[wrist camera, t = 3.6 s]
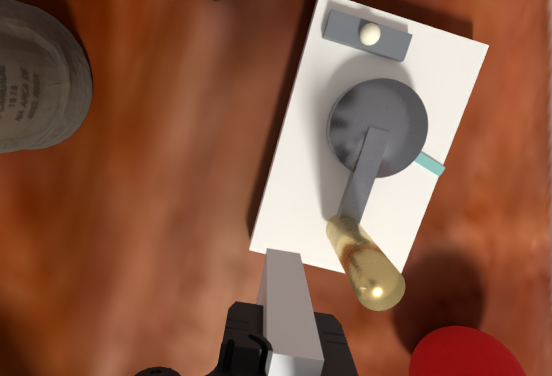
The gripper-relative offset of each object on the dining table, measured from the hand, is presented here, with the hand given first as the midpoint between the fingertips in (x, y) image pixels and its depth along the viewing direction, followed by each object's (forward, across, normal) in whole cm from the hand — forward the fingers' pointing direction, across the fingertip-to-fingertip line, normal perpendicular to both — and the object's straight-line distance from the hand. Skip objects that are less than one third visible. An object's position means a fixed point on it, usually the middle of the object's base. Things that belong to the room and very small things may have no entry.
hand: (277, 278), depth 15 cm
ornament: (+15, +19, -12) cm, 27 cm away
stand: (+15, +6, +5) cm, 17 cm away
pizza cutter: (+12, +6, +4) cm, 14 cm away
